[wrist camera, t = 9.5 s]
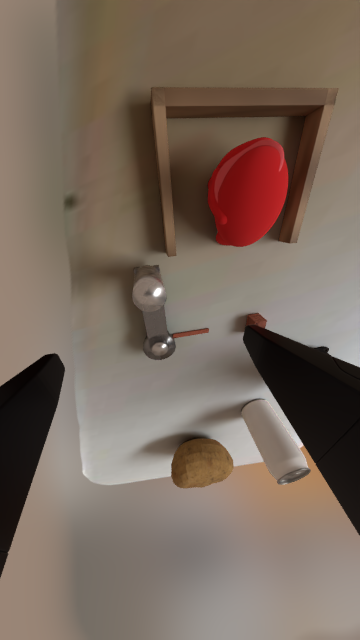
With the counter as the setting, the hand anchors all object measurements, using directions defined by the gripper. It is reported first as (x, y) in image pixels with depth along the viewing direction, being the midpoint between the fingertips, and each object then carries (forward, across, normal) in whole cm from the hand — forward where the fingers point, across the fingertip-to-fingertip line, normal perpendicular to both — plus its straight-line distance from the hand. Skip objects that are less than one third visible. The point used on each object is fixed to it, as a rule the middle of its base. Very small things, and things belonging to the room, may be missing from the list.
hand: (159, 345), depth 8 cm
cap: (+13, -9, -6) cm, 16 cm away
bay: (+12, -9, -7) cm, 17 cm away
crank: (+11, 0, +5) cm, 12 cm away
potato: (+12, -6, +41) cm, 43 cm away
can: (+12, -19, +32) cm, 39 cm away
